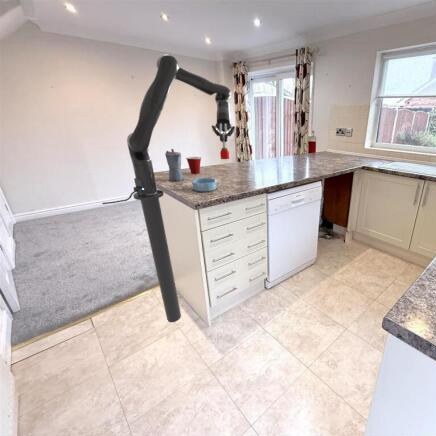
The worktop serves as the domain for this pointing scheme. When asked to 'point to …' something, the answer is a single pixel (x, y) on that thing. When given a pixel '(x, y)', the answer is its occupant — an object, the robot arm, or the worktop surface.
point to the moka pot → (174, 165)
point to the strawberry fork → (224, 149)
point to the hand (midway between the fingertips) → (223, 141)
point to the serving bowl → (204, 184)
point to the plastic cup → (194, 164)
